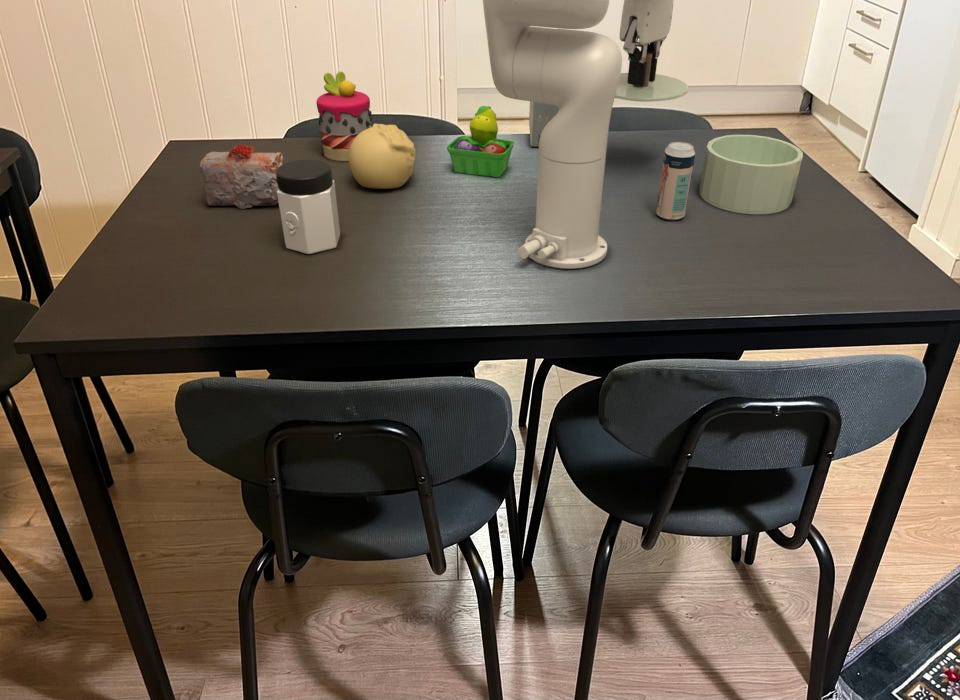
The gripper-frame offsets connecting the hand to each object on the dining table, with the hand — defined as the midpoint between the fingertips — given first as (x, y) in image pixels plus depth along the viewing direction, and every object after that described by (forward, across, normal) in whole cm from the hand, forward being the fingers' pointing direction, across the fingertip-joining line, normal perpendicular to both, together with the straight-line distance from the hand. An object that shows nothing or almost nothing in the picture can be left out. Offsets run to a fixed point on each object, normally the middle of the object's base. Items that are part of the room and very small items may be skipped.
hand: (641, 81), depth 135 cm
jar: (+16, +59, -22) cm, 65 cm away
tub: (+16, -2, +22) cm, 28 cm away
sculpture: (+16, +35, -31) cm, 50 cm away
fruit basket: (+17, +18, -22) cm, 33 cm away
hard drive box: (+17, -6, -24) cm, 30 cm away
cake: (+16, +28, -49) cm, 59 cm away
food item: (+16, +56, -43) cm, 73 cm away
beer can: (+16, +14, +16) cm, 27 cm away
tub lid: (+1, 0, 0) cm, 1 cm away
